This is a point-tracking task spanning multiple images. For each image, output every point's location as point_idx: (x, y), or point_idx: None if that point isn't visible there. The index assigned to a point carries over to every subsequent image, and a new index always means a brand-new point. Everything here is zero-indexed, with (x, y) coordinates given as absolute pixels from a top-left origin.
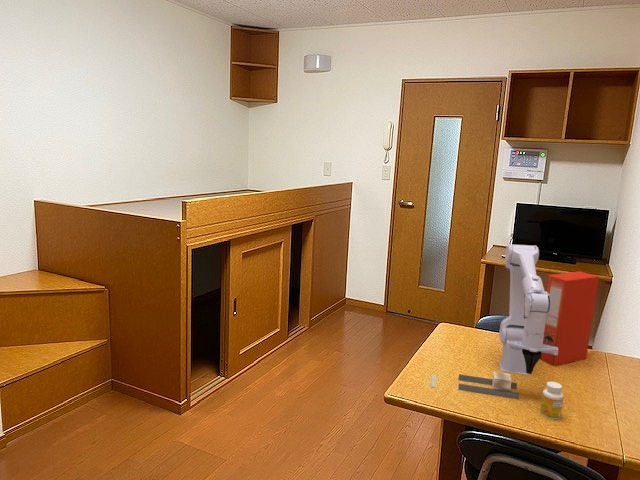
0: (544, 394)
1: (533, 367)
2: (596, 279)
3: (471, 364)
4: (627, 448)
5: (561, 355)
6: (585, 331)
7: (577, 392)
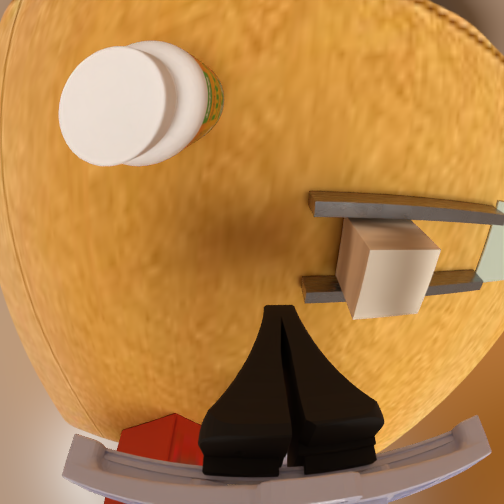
0: (200, 69)
1: (260, 339)
2: None
3: (396, 371)
4: (3, 37)
5: (157, 437)
6: None
7: (99, 317)
